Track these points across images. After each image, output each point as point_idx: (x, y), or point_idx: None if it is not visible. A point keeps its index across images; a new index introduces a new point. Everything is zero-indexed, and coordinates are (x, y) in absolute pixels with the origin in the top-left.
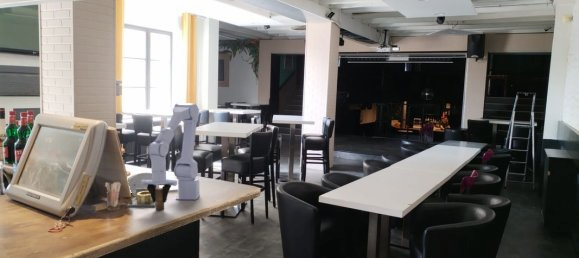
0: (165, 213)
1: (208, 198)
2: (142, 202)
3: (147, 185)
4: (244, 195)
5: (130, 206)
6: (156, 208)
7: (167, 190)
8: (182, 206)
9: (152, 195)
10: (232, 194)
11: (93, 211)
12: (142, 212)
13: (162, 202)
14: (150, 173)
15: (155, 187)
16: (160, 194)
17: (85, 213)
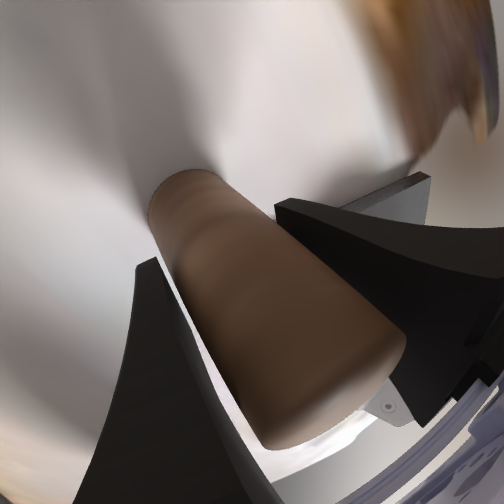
0: (52, 135)
1: (79, 469)
2: None
3: (390, 383)
4: (15, 501)
5: (410, 177)
6: (213, 176)
7: (93, 465)
8: (70, 360)
9: (361, 226)
10: (53, 500)
11: (485, 78)
12: (305, 79)
13: (170, 251)
14: (405, 423)
15: (405, 380)
16: (241, 313)
17: (492, 52)
